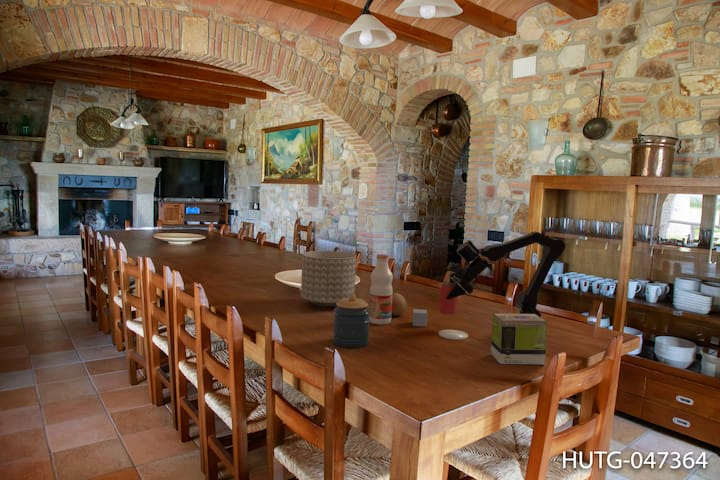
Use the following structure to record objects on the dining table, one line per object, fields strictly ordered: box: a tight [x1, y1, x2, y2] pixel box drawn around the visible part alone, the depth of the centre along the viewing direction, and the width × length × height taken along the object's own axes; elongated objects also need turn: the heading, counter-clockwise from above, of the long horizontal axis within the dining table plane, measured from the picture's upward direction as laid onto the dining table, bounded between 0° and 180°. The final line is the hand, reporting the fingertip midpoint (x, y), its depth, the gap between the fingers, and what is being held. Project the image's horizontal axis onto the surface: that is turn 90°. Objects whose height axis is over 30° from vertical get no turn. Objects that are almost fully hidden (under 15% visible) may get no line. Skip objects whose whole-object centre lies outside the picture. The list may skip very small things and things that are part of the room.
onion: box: [391, 292, 408, 317], centre depth 206 cm, size 10×10×10 cm
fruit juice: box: [368, 254, 394, 326], centre depth 195 cm, size 9×9×28 cm
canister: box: [332, 293, 371, 349], centre depth 167 cm, size 13×13×18 cm
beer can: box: [438, 281, 458, 316], centre depth 187 cm, size 7×7×12 cm
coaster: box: [438, 329, 469, 341], centre depth 181 cm, size 11×11×1 cm
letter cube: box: [412, 308, 428, 328], centre depth 194 cm, size 6×6×6 cm
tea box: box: [490, 312, 548, 366], centre depth 156 cm, size 15×10×15 cm
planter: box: [300, 250, 357, 309], centre depth 220 cm, size 25×25×24 cm
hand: (444, 296), depth 187 cm, fingers closed on beer can, 7 cm apart
